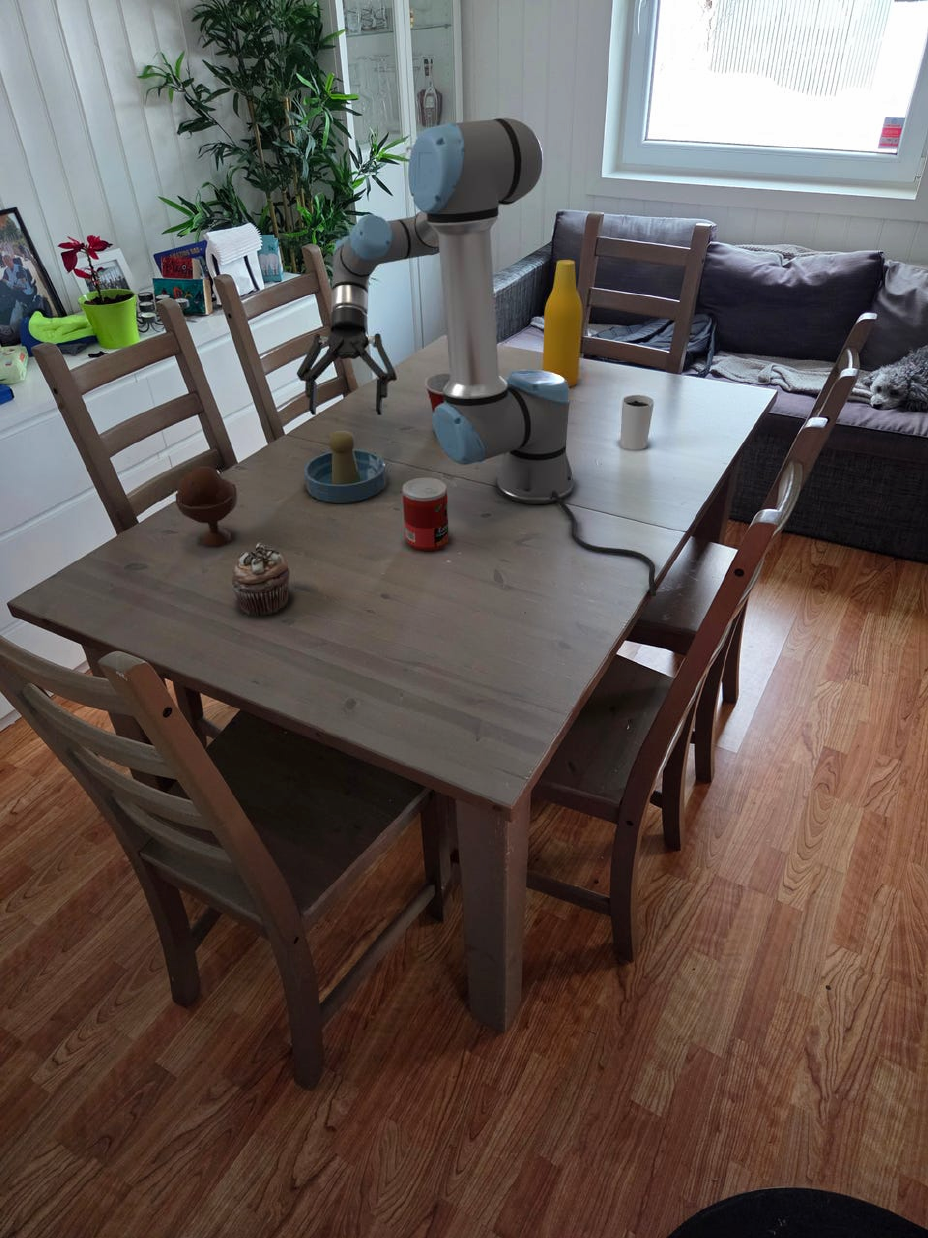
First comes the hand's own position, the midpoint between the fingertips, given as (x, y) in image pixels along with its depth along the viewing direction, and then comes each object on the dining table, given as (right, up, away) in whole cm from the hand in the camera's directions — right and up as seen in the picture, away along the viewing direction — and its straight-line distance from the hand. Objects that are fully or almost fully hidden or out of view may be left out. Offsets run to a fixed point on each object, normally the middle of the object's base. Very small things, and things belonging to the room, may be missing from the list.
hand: (345, 412), depth 170 cm
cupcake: (-9, -39, -31) cm, 51 cm away
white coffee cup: (+61, -4, +14) cm, 63 cm away
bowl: (0, -14, +2) cm, 14 cm away
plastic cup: (+21, +1, +21) cm, 30 cm away
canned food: (+17, -28, -16) cm, 37 cm away
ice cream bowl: (-22, -27, -14) cm, 38 cm away
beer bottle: (+49, +19, +44) cm, 68 cm away
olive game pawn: (0, -14, +2) cm, 14 cm away
